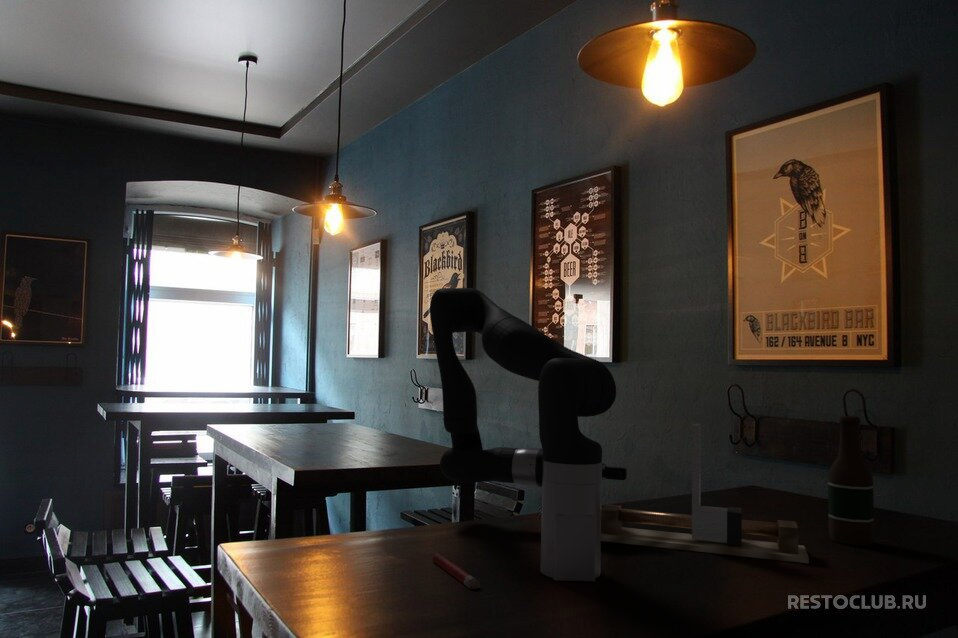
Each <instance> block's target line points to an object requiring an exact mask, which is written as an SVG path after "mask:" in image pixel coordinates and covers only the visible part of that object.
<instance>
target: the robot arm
mask: <svg viewBox="0 0 958 638" xmlns="http://www.w3.org/2000/svg"><path fill="white" fill-rule="evenodd" d="M429 314H430V315H429V316H430V324H431V331H432V336H433V343H434V350H435V354H436V360H437V363H438V370H439V374H440V382H441V390H442V391H441V393H442V415H443V416H442V418H443V428H444V430H445V431H446V432H447V433H448V434H450V440H451V447H450V448H448V449H447V450H446V451H445V452H443V454H442V455H441V458H440V460H439V468H440V471H441V473H442V474H443V475H444V476H445V477H446V479H448V480H450V481H452V482H455V483H463V484H464V483H469V484H470V483H471V484H472V483H485V482H498V483H505V484H506V483H507V484H516V485H517V484H518V485H521V486H525V487H526V486H527V487H534V488H535V487H537V488H541V522H540V525H541V526H540V527H541V528H540V531H541V532H540V572H541V574H543V575H544V576H546V577H549V578H551V579H553V581H559V582H560V581H563V582H564V581H565V582H567V581H569V582H596V579H597V578H599V577H600V576H601V562H602V561H601V559H602V558H601V557H602V556H601V553H602V550H601V549H602V547H601V546H602V544H601V542H602V541H601V509H602V488H603V487H602V481H605V480H614V481H615V480H617V481H625V480H626V479H627V477H628V470H627V467H620V466H619V467H618V466H608V465H606V463H603V447H602V445H601V443H600V442H598V441H596V440H594V439H591V438H589V437H588V436H586V435H584V433H583V432H581V430H580V426H579V418H581V417H582V418H583V417H584V418H587V417H596V416H600V415H602V414H604V413H606V412H608V411H609V410H610V408H612V406H613V405H614V403H615V401H616V398H617V386H616V382H615V378H614V375H613V374H612V372H611V371H610V370H609V368H608V367H607V366H606V365H605V364H604V363H602V362H601V361H599V360H597V359H595V358H592V357H589V356H587V355H585V354H583V353H580V352H577V351H575V350H573V349H570V348H568V347H566V346H564V345H563V344H561V343H560V342H558V341H556V340H555V339H553V338H552V337H551V336H548V335H547V334H545V333H544V332H542V331H541V330H538V328H536V327H534V326H533V325H531V324H530V323H528V322H526V321H525V320H523V319H521V318H519V317H517V316H515V315H513V314H511V313H510V312H508V311H507V310H505V309H503V308H501V307H500V306H499V305H497V304H496V303H495V302H493V301H492V300H491V299H490V298H489V297H488V296H487V295H486V294H484V293H483V292H482V291H480V290H479V289H477V288H473V287H447V288H446V287H445V288H443V287H442V288H438V289H437V290H435V291H434V292H433V294H432V296H431V298H430V306H429ZM467 332H468V333H471V332H472V333H473V332H475V333H478V334H481V345H482V348H483V350H484V352H485V354H486V356H488V358H490V359H491V360H492V361H493V362H494V363H495V364H497V365H499V366H500V367H501V368H503V369H505V370H506V371H508V372H510V373H512V374H514V375H517V376H521V377H523V378H526V379H530V380H532V381H533V380H534V381H538V387H537V397H538V398H537V401H538V402H537V403H538V435H539V441H540V445H541V448H540V447H520V448H519V447H506V446H505V447H504V446H502V447H501V446H499V447H497V446H496V447H493V448H488V449H483V442H482V438H481V434H480V433H481V432H480V431H479V430H480V429H479V427H478V406H477V405H478V402H477V393H476V388H475V386H474V383H473V381H472V379H471V377H470V376H469V374H468V373H467V371H466V369H465V368H464V366H463V364H462V362H461V361H460V359H459V356H458V355H457V353H456V349H455V344H454V340H453V339H454V336H453V333H467ZM445 477H444V478H445Z"/></svg>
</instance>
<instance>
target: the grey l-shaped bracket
mask: <svg viewBox="0 0 958 638" xmlns="http://www.w3.org/2000/svg"><path fill="white" fill-rule="evenodd" d="M691 428H692V429H691V430H692V431H691V433H692V435H691V437H692V438H691V439H692V440H691V443H692V446H691V452H692V453H691V479H692V480H691V515H692V529H691V534H692V539H694V540H703V541H713V542H723V543H727V508H728V507H721V506H720V507H718V506H708V505H707V506H706V505H701V504H702V503H701V500H702V499H701V498H702V496H701V495H702V494H701V491H702V490H701V489H702V487H701V486H702V485H701V484H702V483H701V481H702V480H701V477H702V476H701V474H702V471H701V469H702V465H701V464H702V463H701V462H702V459H701V457H702V455H701V454H702V449H701V448H702V423H693V424H692V427H691Z"/></svg>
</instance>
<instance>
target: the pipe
mask: <svg viewBox="0 0 958 638" xmlns="http://www.w3.org/2000/svg"><path fill="white" fill-rule="evenodd" d="M618 520H619V521H620V522H622V523H629V524H630V523H632V524H641V525H642V524H643V525H650V526H651V525H652V526H663V527H671V528H674V527H675V528H683V529H691V530H692V514H684V513H675V512H674V513H672V512H661V511H651V510H642V509H641V510H639V509H629V508H622V509H620V508H619V512H618ZM742 535H751V536H752V535H753V536H763V537H774V538H778V537H779V524H778V522H771V521H770V522H769V521H759V520H749V519H748V520H747V519H742Z"/></svg>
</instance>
